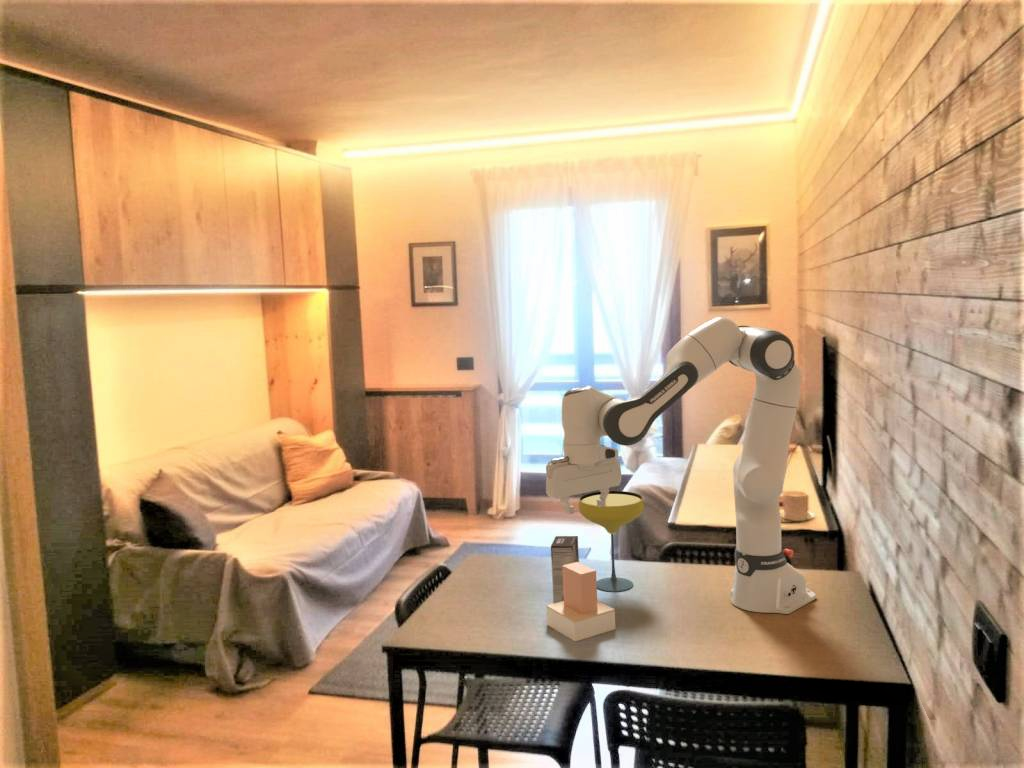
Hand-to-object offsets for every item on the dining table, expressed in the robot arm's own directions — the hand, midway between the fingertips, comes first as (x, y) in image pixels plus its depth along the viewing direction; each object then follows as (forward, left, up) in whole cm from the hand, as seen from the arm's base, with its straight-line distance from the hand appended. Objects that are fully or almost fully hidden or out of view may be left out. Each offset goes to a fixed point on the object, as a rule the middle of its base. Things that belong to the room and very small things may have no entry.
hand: (585, 510), depth 187 cm
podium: (+2, -2, -30) cm, 30 cm away
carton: (+2, -2, -25) cm, 25 cm away
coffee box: (-6, -20, -30) cm, 36 cm away
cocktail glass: (-22, -20, -30) cm, 42 cm away
